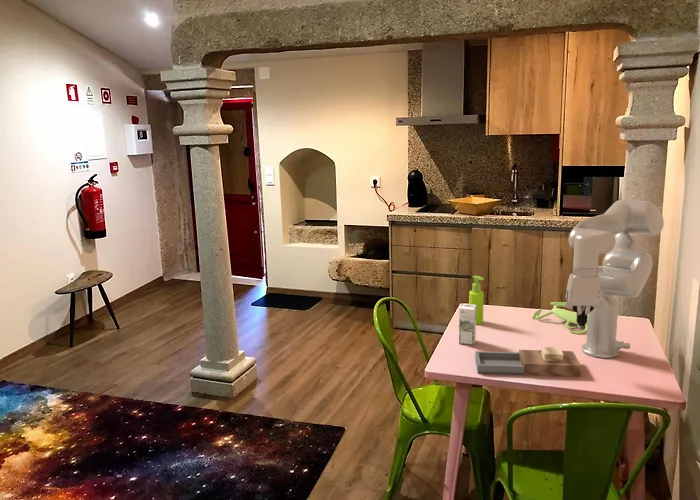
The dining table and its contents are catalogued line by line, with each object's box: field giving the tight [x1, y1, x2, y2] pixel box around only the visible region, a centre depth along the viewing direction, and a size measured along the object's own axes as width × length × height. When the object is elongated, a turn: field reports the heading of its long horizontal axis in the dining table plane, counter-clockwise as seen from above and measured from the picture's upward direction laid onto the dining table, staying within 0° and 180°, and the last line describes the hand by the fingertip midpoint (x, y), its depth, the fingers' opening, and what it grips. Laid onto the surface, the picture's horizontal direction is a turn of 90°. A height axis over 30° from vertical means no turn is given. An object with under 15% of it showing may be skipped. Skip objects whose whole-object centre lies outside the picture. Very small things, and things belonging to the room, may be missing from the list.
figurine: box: [532, 301, 589, 335], centre depth 241 cm, size 18×27×6 cm
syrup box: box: [458, 303, 477, 346], centre depth 221 cm, size 6×6×14 cm
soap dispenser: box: [468, 275, 485, 326], centre depth 241 cm, size 6×7×20 cm
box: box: [474, 350, 525, 376], centre depth 200 cm, size 15×12×3 cm
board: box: [518, 349, 582, 378], centre depth 198 cm, size 18×12×4 cm, turn 82°
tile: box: [540, 346, 563, 361], centre depth 197 cm, size 6×6×2 cm
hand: (581, 325), depth 193 cm, fingers closed
